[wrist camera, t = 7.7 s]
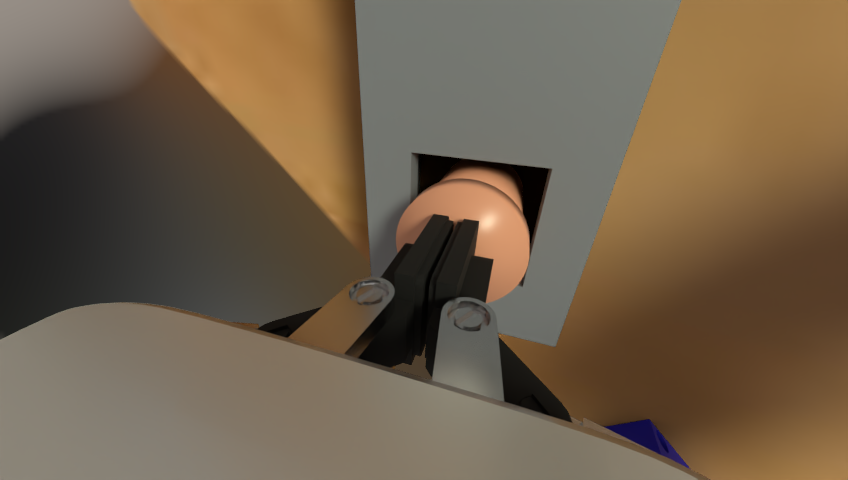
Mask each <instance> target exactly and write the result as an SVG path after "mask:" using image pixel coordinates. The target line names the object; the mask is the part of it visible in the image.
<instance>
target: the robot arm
mask: <svg viewBox="0 0 848 480" xmlns="http://www.w3.org/2000/svg"><path fill="white" fill-rule="evenodd" d="M453 227H454V221H451V220H449V216H444V215H438V214H433V216H432V217H431V219H430V220H429V222H428V223H427V225H426V226H425V228H424V229H423V231H422V232H421V234H420V235H419V237H418V238H417V240H416V241H415V243H414V244H410V243H405V244H404V245H403V247H402V248H401V250H400V251H399V252H398V254H397V255H396V256H395V258H394V259H393V261H392V262H391V263H390V265H389V266H388V268H387V269H386V270H385V272H384V273H383V275H382V276H381V277H380V278H379V277H364V278H360V279H357V280H354V281H353V282H351V283H350V284H349V285H347V286H346V287H345V288H344V289H343V290H342V291H340V292H339V293H338V294H337V295H336V296H335V297H334V298H332V299H331V300H330V301H329V302H328V303H327V304H326V305H325V306H323V307H320V308H317V309H313V310H310V311H306V312H303V313H299V314H296V315H292V316H289V317H286V318H282V319H279V320H275V321H272V322H270V323H267V324H265V325H263V326H261V327H260V328H259V325H258V324H252V323H238V322H237V323H236V322H229V321H225V320H221V319H218V318H214V317H210V316H206V315H203V314H199V313H194V312H190V311H186V310H182V309H177V308H173V307H168V306H161V305H154V304H147V303H126V302H121V303H103V304H94V305H87V306H82V307H76V308H72V309H68V310H65V311H62V312H59V313H57V314H55V315H52V316H50V317H48V318H45V319H43V320H41V321H39V322H37V323H35V324H32V325H30V326H28V327H26V328H24V329H22V330H20V331H18V332H16V333H13V334H11V335H9V336H7V337H5V338H3V339H1V340H0V480H710V479H709V478H707V477H705V476H703V475H701V474H699V473H697V472H695V471H693V470H691V469H689V468H687V467H685V466H683V465H681V464H679V463H677V462H675V461H673V460H671V459H669V458H667V457H664V456H662V455H660V454H658V453H656V452H654V451H652V450H649V449H647V448H645V447H643V446H641V445H639V444H637V443H635V442H633V441H631V440H629V439H627V438H625V437H623V436H621V435H619V434H617V433H615V432H613V431H611V430H609V429H607V428H605V427H602V426H600V425H598V424H596V423H594V422H592V421H590V420H588V419H586V418H583V420H582V422H581V421H579V420H577V419H575V418H573V417H571V416H570V415H569V413H568V411H567V410H566V408H565V407H564V406H563V405H562V403H561V402H560V401H559V400H558V399H557V398H556V397H555V396H554V395H553V393H552V392H551V391H550V390H549V389H548V388H547V387H546V386H545V385H544V384H543V383H542V382H541V381H540V380H539V379H538V378H537V377H536V376H535V375H534V374H533V372H532V371H531V370H530V369H529V368H528V367H527V366H526V365H525V364H524V363H523V362H522V361H521V360H520V359H519V358H518V357H517V356H516V355H515V354H514V353H513V351H512V350H511V349H510V348H509V347H508V346H507V345H506V344H505V343H504V342H503V341H502V340H501V339H500V338H499V337H498V327H497V318H496V315H495V312H494V311H493V310H492V308H491V307H490V306H489V305H487V304H486V299H487V293H488V288H489V282H490V277H491V271H492V266H493V260H494V259H490V258H485V257H480V256H475V249H476V242H477V235H478V228H479V221H476V220H469V219H464V220H463V222H457V224H456V226H455V228H454V230H453ZM425 344H426V348H425V358H426V369H427V370H428V372H429V374H430V375H431V376H432V380H430V379H426V378H422V377H420V376H416V375H413V374H409V373H406V372H403V371H399V370H396V369H395V366H396V365H398V364H401V363H406V364H409V365H412V362H413V360H414V357H415V355H418V356H421V355H422V352H423V350H424V347H425Z"/></svg>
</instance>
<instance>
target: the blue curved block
mask: <svg viewBox="0 0 848 480" xmlns="http://www.w3.org/2000/svg"><path fill="white" fill-rule="evenodd" d="M605 428H607V429H609V430H611V431H613V432H615V433H617V434H619V435H621V436H623V437H625V438H627V439H629V440H631V441H633V442H635V443H637V444H639V445H641V446H643V447H645V448H647V449H649V450H652V451H654V452H656V453H658V454H660V455H662V456H664V457H667V458H669V459H671V460H673V461H675V462H677V463H679V464H681V465H683V466H685V467H687V468H689V467H688V465H687V464H686V463H685V462H684V461H683V459H682V458H681V457H680V456H679V455H678V453H677V452H676V451H675V450H674V449H673V447H672V446H671V445H670V444H669V442H668V441H667V440H666V439H665V438H664V436H663V435H662V434H661V433H660V432H659V430H658V429H657V428H656V427H655V426H654V424H653V423H652V422H651V421H650V419H647V420H641V421H636V422H630V423H624V424H618V425H613V426H607V427H605ZM689 469H690V468H689Z"/></svg>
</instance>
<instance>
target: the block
mask: <svg viewBox="0 0 848 480" xmlns="http://www.w3.org/2000/svg"><path fill="white" fill-rule="evenodd" d="M680 3H681V0H355V12H356V29H357V46H358V63H359V80H360V97H361V114H362V131H363V148H364V165H365V182H366V199H367V216H368V233H369V250H370V267H371V277H379V278H380V277H381V276H382V275H383V273H384V272H385V270H386V269H387V268H388V266H389V265H390V263H391V262H392V261H393V259H394V258H395V256H396V255H397V254H398V252H397V247H396V232H397V227H398V224H399V221H400V218H401V217H402V215H403V213H404V212H405V210H406V209H407V208H408V206H409V205H410V204H411V203H412V202H413V201H414V200H415V199H416V198H417V196H418V195H420V177H421V154H430V155H438V156H447V157H455V158H464V159H473V160H481V161H490V162H498V163H507V164H516V165H524V166H533V167H542V168H549V172H548V176H547V180H546V184H545V188H544V192H543V196H542V201H541V205H540V209H539V213H538V217H537V221H536V225H535V229H534V233H533V237H532V241H531V245H530V249H529V262H528V267H527V269H526V272H525V274H524V276H523V278H522V280H521V281H520V282H519V284H518V285H517V286H516V287H515V288H514V289H513V290H512V291H511V292H510V293H508V294H507V295H505V296H504V297H502V298H500V299H498V300H495V301H493V302H489V303H486V304H487V305H489V306H490V307H491V308H492V310H493V311H494V312H495V315H496V318H497V327H498V333H501V334H505V335H509V336H513V337H517V338H521V339H525V340H529V341H533V342H537V343H541V344H545V345H549V346H553V347H555V346H556V344H557V341H558V338H559V335H560V333H561V330H562V327H563V324H564V322H565V319H566V316H567V313H568V311H569V308H570V305H571V302H572V300H573V297H574V294H575V291H576V289H577V286H578V283H579V280H580V278H581V275H582V272H583V269H584V267H585V264H586V261H587V258H588V256H589V253H590V250H591V247H592V245H593V242H594V239H595V236H596V234H597V231H598V228H599V225H600V223H601V220H602V217H603V214H604V212H605V209H606V206H607V203H608V201H609V198H610V195H611V192H612V190H613V187H614V184H615V181H616V179H617V176H618V173H619V170H620V168H621V165H622V162H623V159H624V157H625V154H626V151H627V148H628V146H629V143H630V140H631V137H632V135H633V132H634V129H635V126H636V124H637V121H638V118H639V115H640V113H641V110H642V107H643V104H644V102H645V99H646V96H647V93H648V91H649V88H650V85H651V82H652V80H653V77H654V74H655V71H656V69H657V66H658V63H659V60H660V58H661V55H662V52H663V49H664V47H665V44H666V41H667V38H668V36H669V33H670V30H671V27H672V25H673V22H674V19H675V16H676V14H677V11H678V8H679V5H680Z"/></svg>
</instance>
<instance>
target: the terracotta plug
mask: <svg viewBox="0 0 848 480" xmlns="http://www.w3.org/2000/svg"><path fill="white" fill-rule="evenodd" d="M523 202H524V190H523V185H522V182H521V179H520V177H519V175H518V174H517V172H516V171H515V170H514V169H513V168H512V167H511V166H510V165H509V164H507V163H498V162H490V161H481V160H473V159H462V160H460V161H459V162H457V163H456V164H455V165H454V166H453V167H451V169H450V170H449V171H448V172H447V173H446V175H445V176H444V177H443V178H442V179H441V181H440V182H439V183H436V184H434V185H432V186H430V187H428V188H427V189H426V190H424V191H423V192H422V193H421V194H420V195H418V196H417V198H416V199H415V200H414V201H413V202H412V203H411V204H410V205H409V206H408V208H407V209H406V210H405V212H404V213H403V215H402V217H401V218H400V221H399V224H398V227H397V232H396V247H397V252H399V251H400V250H401V248H402V247H403V245H404V244H405V243H410V244H414V243H415V241H416V240H417V238H418V237H419V235H420V234H421V232H422V231H423V229H424V228H425V226H426V225H427V223H428V222H429V220H430V219H431V217H432V216H433V214H438V215H444V216H449V220H451V221H454V227H453V230H454V228H455V226H456V224H457V222H463V220H464V219H469V220H476V221H479V228H478V235H477V242H476V249H475V256H480V257H485V258H490V259H494V260H493V266H492V271H491V277H490V282H489V288H488V293H487V299H486V303H489V302H493V301H495V300H498V299H500V298H502V297H504V296H505V295H507V294H508V293H510V292H511V291H512V290H513V289H514V288H515V287H516V286H517V285H518V284H519V282H520V281H521V280H522V278H523V276H524V274H525V272H526V269H527V267H528V262H529V229H528V225H527V222H526V219H525V217H524V215H523Z"/></svg>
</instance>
